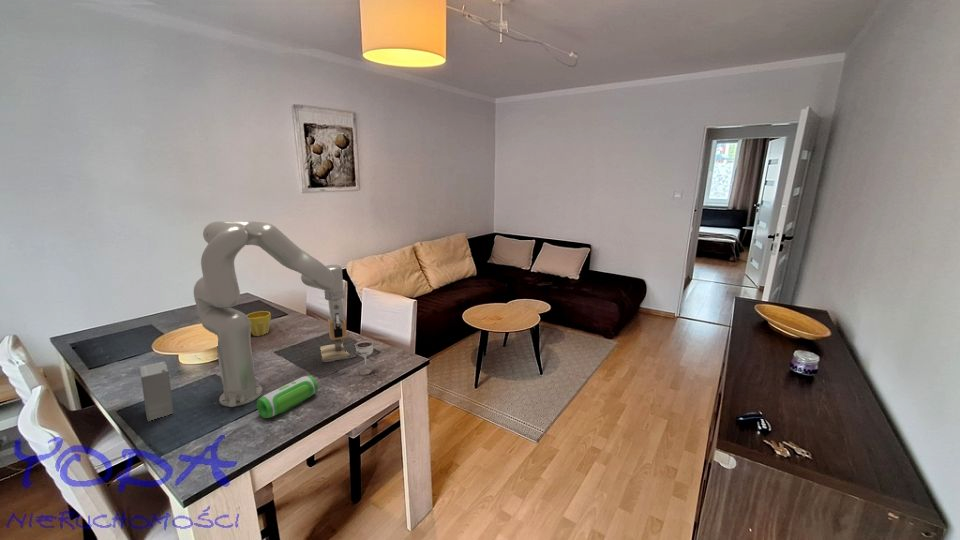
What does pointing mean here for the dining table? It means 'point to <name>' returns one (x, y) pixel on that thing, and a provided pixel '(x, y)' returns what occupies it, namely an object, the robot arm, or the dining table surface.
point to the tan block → (331, 329)
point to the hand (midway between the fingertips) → (337, 333)
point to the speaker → (286, 396)
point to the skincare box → (156, 390)
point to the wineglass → (364, 349)
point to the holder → (333, 351)
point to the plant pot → (259, 322)
